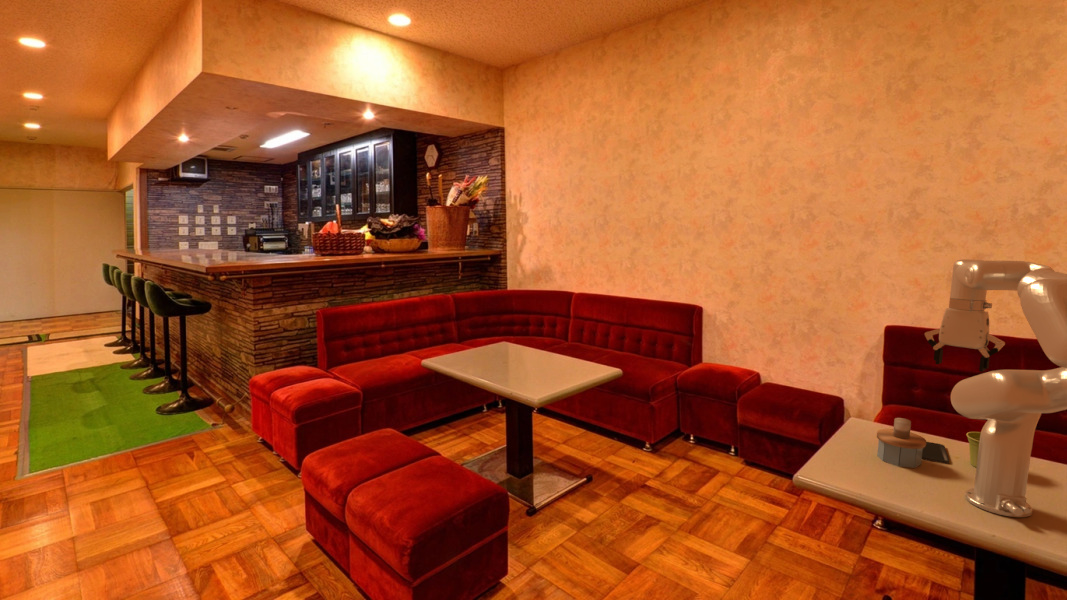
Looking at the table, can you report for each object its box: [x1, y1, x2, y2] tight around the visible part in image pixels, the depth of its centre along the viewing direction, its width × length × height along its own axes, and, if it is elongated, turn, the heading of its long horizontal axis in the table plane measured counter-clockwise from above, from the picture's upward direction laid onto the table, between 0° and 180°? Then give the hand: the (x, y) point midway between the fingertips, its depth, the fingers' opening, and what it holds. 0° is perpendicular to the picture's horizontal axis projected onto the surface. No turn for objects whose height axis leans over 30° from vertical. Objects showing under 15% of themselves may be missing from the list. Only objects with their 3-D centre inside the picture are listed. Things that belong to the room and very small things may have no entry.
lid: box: [876, 417, 927, 449], centre depth 157 cm, size 12×12×6 cm
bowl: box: [877, 439, 923, 469], centre depth 158 cm, size 10×10×6 cm
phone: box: [922, 441, 950, 465], centre depth 163 cm, size 8×1×15 cm
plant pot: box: [965, 431, 981, 468], centre depth 153 cm, size 9×9×9 cm
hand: (959, 367), depth 146 cm, fingers open, 9 cm apart
